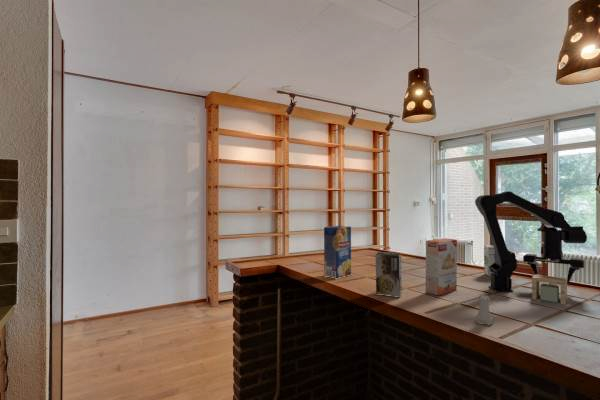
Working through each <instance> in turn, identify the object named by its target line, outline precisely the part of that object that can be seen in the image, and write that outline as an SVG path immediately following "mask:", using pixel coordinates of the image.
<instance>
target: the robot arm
mask: <svg viewBox="0 0 600 400" xmlns="http://www.w3.org/2000/svg"><path fill="white" fill-rule="evenodd" d="M474 203H475V205H476V208H477V210H478V211H479V213H480V214H481V215H482V217H483V218H484V222H485V225H486V228H487V231H488V234H489V237H490V239H491V242H492V245H493V246H494V249H495V252H494V259H495V262H494V263H493V264H492V265H491V266H490V267H489V270H490V272H492V273H491V277H490V285H488V288H489V289H492V290H494V291H496V292H514V289H512V288H513V287H512V286H513V285H512V284H513V283H512V280H513V279H512V278H511V277H512V275H513V273H514V272H515V270H516V269H517V268H518V263H519V262H518V260H517V256H516V253H515V252H513V251H510V250H509V249H508V247H507V244H506V241H505V238H504V235H503V232H502V229H501V226H500V223H499V220H498V217H497V205H501V204H503V203H508V204H510V205H512V206H514V207H516V208H518V209H520V210H522V211H524V212H526V213H528V214H530V215H532V216H533V217H535V218H536V220H537V221H539V222H540V223H542V224H543V225H541V226H540V227H539V228H537V229H536V230H537V232H543V246H541V248H540V254H541V255H542V256H537V254H535V253H534V254H533V253H526V254H525V255H523V256H522V260H523V261H522V262H524V263H527V265H529V266H530V268H531V269H532V271H533V272H534V275H540V272H539V271H540V270H539V262H543V263H551V264H562V265H569V268H568V270H567V271H568V272H567V278H566V280H567V285H570V281H571V279H572V276H573V275H574V273H575V271H579V270H580V269H584V268H585V260H584V259H583V258H576V257H570V259H567V258H563V257H564V252H563V242H564V243H565V244H585V243H586V242H587V239H588V234H587V233H586V231H585V230H584V226H581V225H574V226H571V225H570V224H569V223H568V221H567V220H566V219H565V215H564V214H563V213H562V212H560V211H558V210H557V211H556V210H553V209H551V208H546V207H543V206H540V205H538V204H536V203H533V202H531V201H529V200H528V199H525V198H523V197H521V196H519V195H517V194H515V193H514V192H512V191H509V190H508V191H502V192H499V193H496V194H491V195H489V194H484V195H479V196H477V197H476V198H475V200H474ZM547 226H548V227H547ZM549 226H551V227H549Z"/></svg>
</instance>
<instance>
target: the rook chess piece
mask: <svg viewBox="0 0 600 400" xmlns="http://www.w3.org/2000/svg"><path fill="white" fill-rule="evenodd" d="M477 300H478V301H479V303H478V305H479V308H478V309H479V310H478V313H477V315H476V316H475V322H476V323H477V322H479V323H482V324H494V322H493V317H492V316H491V313H490V304H489V303H490V302H491V299H490V296H488V295H485V294H480V295H478V298H477ZM479 323H478V324H479ZM482 324H481V325H482Z"/></svg>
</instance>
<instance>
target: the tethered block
mask: <svg viewBox="0 0 600 400" xmlns="http://www.w3.org/2000/svg"><path fill="white" fill-rule="evenodd" d="M539 300H541V301H546V302H547V301H549V302H554V303H558V302H559V300H560V285H559V284H557V283H550V282H548V283H543V282H542V283H541V284H540V295H539Z"/></svg>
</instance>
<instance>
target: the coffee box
mask: <svg viewBox="0 0 600 400" xmlns="http://www.w3.org/2000/svg"><path fill="white" fill-rule="evenodd" d="M375 284H376V285H375V290H376V291H375V295H376V294H384V295H391V296H398V297H400V296H401V297H402V295H401V294H403V293H402V289H403V288H402V285H403V283H402V253H401V252H389V251H387V252H386V251H384V252H383V251H378V252H377V253H376V254H375ZM401 297H400V298H401Z"/></svg>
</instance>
